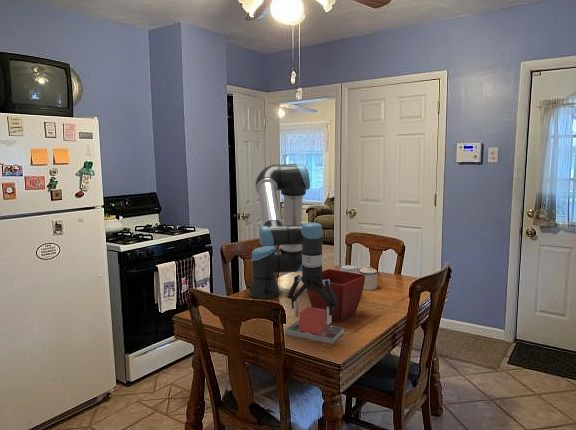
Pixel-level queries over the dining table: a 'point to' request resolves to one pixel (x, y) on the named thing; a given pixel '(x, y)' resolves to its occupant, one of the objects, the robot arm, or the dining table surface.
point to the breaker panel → (325, 335)
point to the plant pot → (340, 293)
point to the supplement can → (349, 268)
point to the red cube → (312, 320)
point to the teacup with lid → (369, 278)
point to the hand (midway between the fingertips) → (312, 320)
